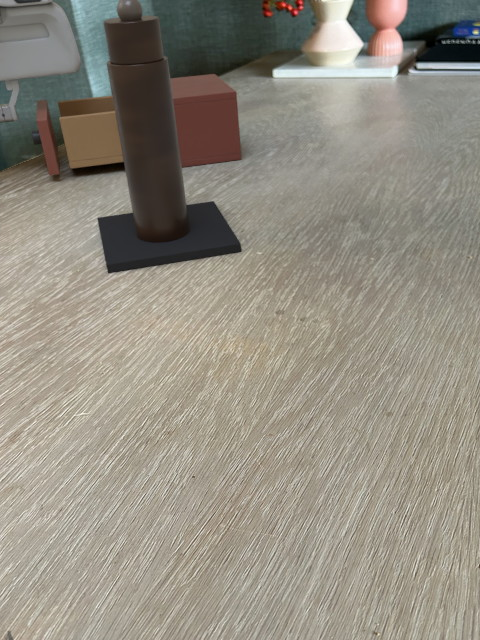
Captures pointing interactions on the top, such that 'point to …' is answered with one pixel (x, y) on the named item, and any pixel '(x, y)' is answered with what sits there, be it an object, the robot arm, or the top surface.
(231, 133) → the cabinet
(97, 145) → the drawer
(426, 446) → the top surface
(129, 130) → the pepper mill
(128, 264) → the plate
